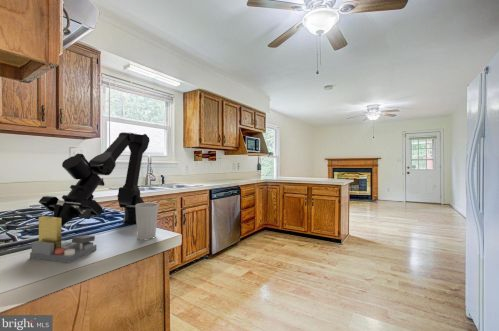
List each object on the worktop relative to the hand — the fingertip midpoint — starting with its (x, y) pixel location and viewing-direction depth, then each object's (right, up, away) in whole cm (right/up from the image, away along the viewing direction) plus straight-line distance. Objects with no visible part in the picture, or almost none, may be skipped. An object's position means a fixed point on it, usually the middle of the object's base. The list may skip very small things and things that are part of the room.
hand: (53, 230), depth 72 cm
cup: (+20, -7, +18) cm, 28 cm away
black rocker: (+7, -3, +2) cm, 8 cm away
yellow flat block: (0, -5, -1) cm, 6 cm away
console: (+3, -7, +1) cm, 8 cm away
